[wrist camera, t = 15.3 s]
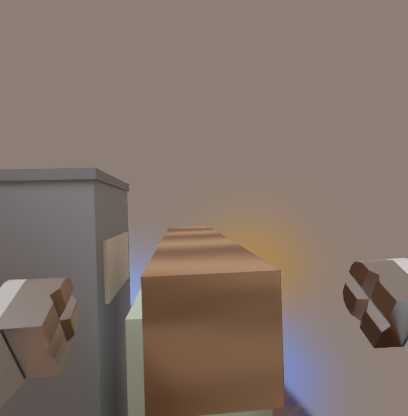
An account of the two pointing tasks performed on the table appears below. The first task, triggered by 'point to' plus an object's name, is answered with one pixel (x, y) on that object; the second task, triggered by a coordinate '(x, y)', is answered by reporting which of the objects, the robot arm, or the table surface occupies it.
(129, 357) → the green block
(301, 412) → the table surface
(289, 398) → the table surface
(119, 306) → the block
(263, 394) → the walnut rod
